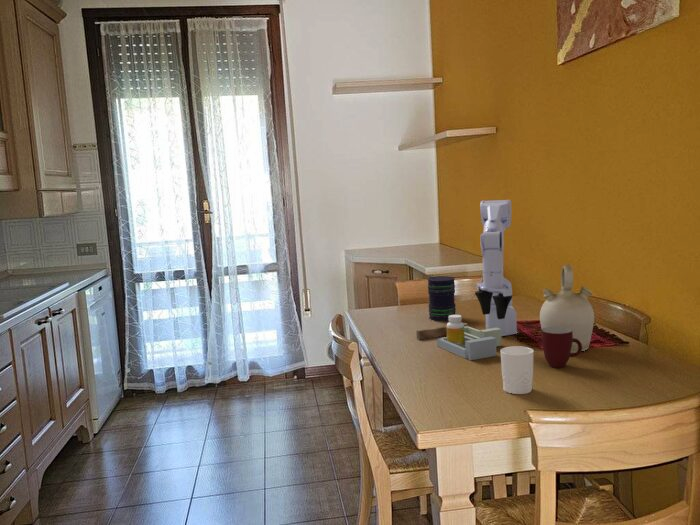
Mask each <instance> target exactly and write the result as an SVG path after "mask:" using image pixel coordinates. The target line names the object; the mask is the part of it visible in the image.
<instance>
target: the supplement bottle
mask: <svg viewBox="0 0 700 525" xmlns="http://www.w3.org/2000/svg"><path fill="white" fill-rule="evenodd" d="M448 320H449V321H448V322H447V324H446V326H447V335H446V337H447V341H449V342H451V343H454V344H456V345H458V346H461V347H463V348H465V334H464V324H463V323H464V322H463V321H462V320H463V317H462V315H461V314H455V315H449V319H448Z"/></svg>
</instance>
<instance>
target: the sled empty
mask: <svg viewBox="0 0 700 525" xmlns="http://www.w3.org/2000/svg"><path fill="white" fill-rule="evenodd" d="M464 334H465V336H468V337H470V338H473V339H480V338H486V337H494V338H496V348H497V347H502V336H501V329H499V328H491V329H486V328H485V329H477V328H473V327H472V326H466V327H464Z"/></svg>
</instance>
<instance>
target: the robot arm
mask: <svg viewBox="0 0 700 525" xmlns="http://www.w3.org/2000/svg"><path fill="white" fill-rule="evenodd" d="M479 207H480V208H479V210H480V218H481V224H482V227H483V233H481V234H480V238H479V239H480V249H481V250H480V251H481V257H482V282H477V283H476V290H478V291H474V295H475V296H476V298H477V301H478V303H479V305H480V309H481V312H482V315H485V329H491V328H499V329H501V337H504V336H505V337H507V336H511V335H518V334H519V331H518V330H517V328H518V326H517V312H516V309H515V308H514V307H513V286H512V282H511V281H509V279H507V278H505V277H504V246H505V245H504V241H505V240H504V239H505V238H504V234H505V232H506V231H505V230H506V229H508V228H509V227H510V226H511V223H512V201H511V199H501V200H500V199H499V200H481V201H480V204H479ZM517 333H518V334H517Z"/></svg>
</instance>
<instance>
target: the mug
mask: <svg viewBox="0 0 700 525" xmlns="http://www.w3.org/2000/svg"><path fill="white" fill-rule="evenodd" d="M540 332H541V333H540V334H541V335H540V336H541V345H542V350H543V355H544V358H545V360H546V362H547V365H548V366H549V367H551V368H554V369H562V368H564V367H566V365H567V363H568V361H569V360H570V358H573V357H578V356H579V355H580V354H581V353H582V352H581V351H582V344H581V342H580V341H579V340H578V339H575V338H573V332H572V329H570V328H566V327H546V328H543V329H541V331H540ZM573 342H575V343H577V345H578V351H577V352H576V353H570V352H571V347H572V343H573Z"/></svg>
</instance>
